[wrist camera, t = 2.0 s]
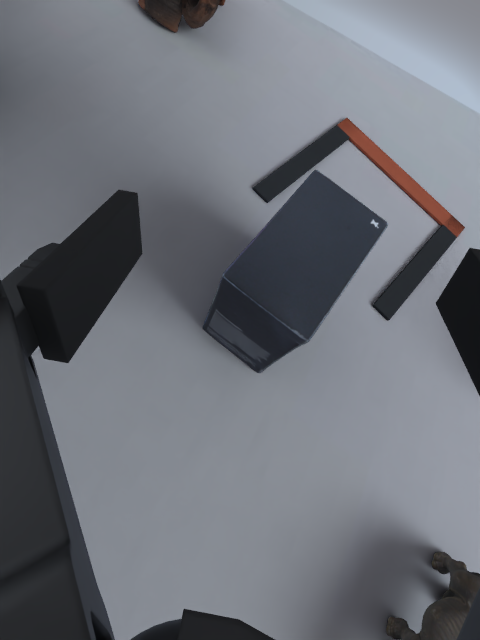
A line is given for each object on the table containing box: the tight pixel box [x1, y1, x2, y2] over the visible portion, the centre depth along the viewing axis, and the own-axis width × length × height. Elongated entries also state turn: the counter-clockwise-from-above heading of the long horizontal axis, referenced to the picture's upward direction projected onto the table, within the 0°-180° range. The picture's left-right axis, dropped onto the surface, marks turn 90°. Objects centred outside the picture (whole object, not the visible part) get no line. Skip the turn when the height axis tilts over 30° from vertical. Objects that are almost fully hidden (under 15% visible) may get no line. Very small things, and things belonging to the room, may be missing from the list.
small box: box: [203, 170, 388, 373], centre depth 26 cm, size 11×6×10 cm, turn 144°
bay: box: [253, 118, 465, 320], centre depth 36 cm, size 18×16×1 cm
